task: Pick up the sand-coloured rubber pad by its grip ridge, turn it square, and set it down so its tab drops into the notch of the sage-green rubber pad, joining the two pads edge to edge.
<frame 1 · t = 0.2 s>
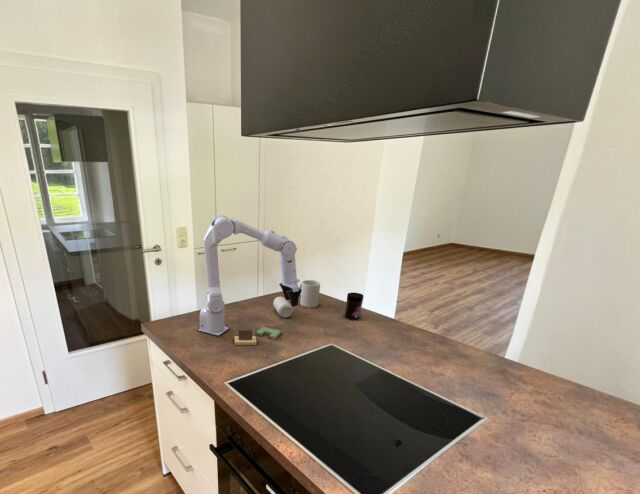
hand: (291, 302, 144), 10 cm above the worktop, tool pointing down, fingers open, 7 cm apart
mug: (306, 303, 173), on the worktop
tab pad: (245, 341, 135), on the worktop
notch pad: (268, 334, 141), on the worktop
supplement container: (352, 317, 159), on the worktop
beverage can: (286, 312, 154), point 3 cm above the worktop
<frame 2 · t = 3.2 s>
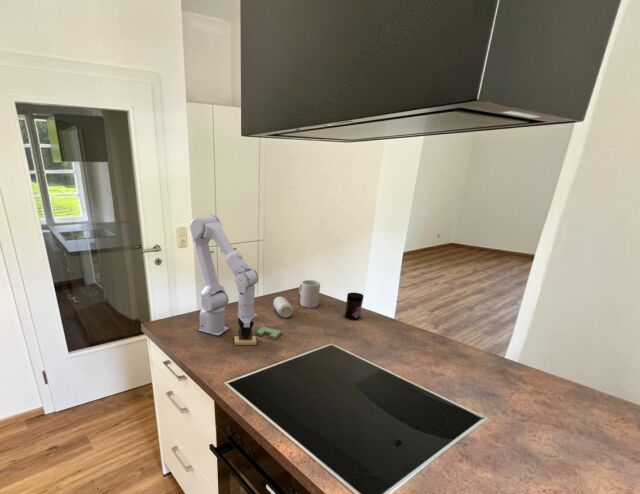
hand: (245, 337, 134), 2 cm above the worktop, tool pointing down, fingers closed on tab pad
tab pad: (245, 341, 135), on the worktop, touching gripper
everything else where it was.
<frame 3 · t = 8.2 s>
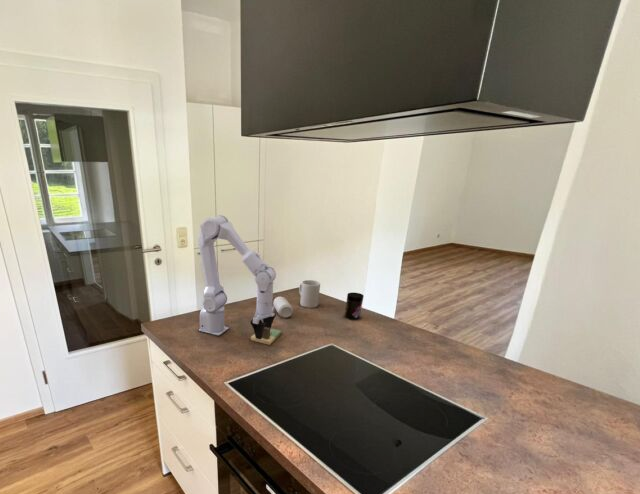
hand: (262, 334, 136), 2 cm above the worktop, tool pointing down, fingers open, 7 cm apart
tab pad: (262, 339, 137), on the worktop
everything else where it was.
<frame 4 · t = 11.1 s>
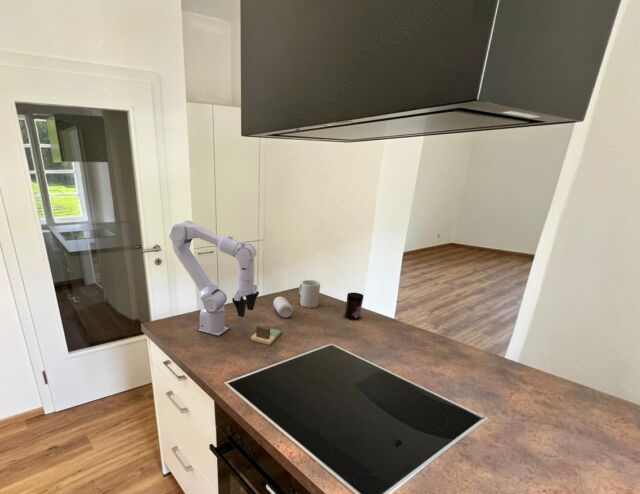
hand: (245, 312, 136), 9 cm above the worktop, tool pointing down, fingers open, 7 cm apart
nothing on the worktop moved.
at the end: tab pad 0.1 cm from the target spot on the worktop beside the notch pad, on the worktop; tab pad tilted 0°; the gripper is holding nothing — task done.
